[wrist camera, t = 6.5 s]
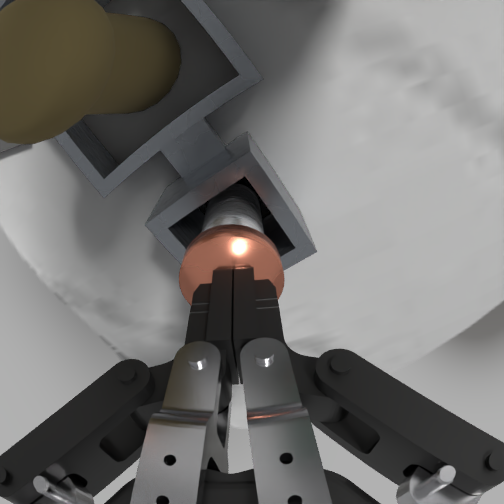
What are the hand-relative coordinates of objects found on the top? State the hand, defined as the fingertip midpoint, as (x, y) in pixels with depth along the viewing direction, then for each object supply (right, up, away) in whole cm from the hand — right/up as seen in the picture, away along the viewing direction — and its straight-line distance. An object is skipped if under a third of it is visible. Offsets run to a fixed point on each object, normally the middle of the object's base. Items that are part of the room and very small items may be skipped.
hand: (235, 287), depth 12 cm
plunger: (0, +4, +6) cm, 7 cm away
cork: (-6, +12, +2) cm, 14 cm away
